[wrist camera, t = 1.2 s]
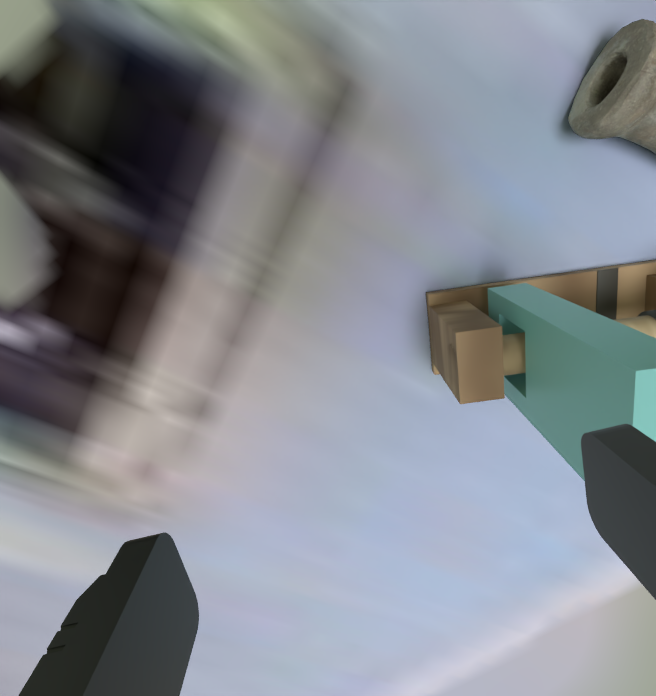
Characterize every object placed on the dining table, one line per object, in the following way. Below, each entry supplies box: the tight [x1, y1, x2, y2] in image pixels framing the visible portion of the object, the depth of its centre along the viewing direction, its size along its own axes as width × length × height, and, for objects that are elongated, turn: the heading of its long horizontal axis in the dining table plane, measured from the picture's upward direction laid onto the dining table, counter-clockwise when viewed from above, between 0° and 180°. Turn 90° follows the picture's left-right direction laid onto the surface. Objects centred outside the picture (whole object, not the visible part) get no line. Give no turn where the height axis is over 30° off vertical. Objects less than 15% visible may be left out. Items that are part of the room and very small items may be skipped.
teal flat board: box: [488, 283, 656, 481], centre depth 25 cm, size 2×6×16 cm, turn 8°
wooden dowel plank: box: [426, 260, 656, 404], centre depth 31 cm, size 18×6×8 cm, turn 98°
